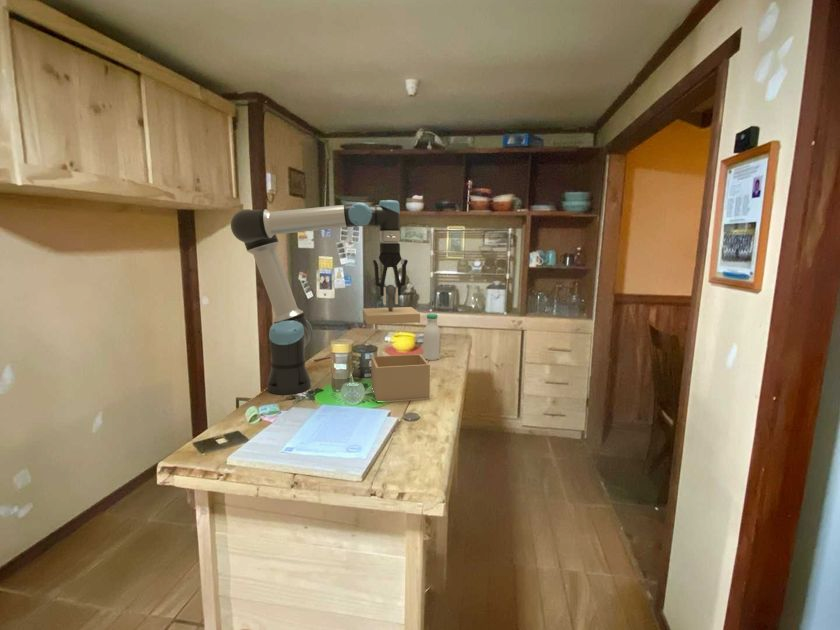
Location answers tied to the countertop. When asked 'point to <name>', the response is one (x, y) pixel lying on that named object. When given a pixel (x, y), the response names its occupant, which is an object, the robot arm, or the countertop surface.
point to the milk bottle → (431, 339)
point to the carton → (400, 377)
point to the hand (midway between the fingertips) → (390, 303)
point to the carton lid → (391, 312)
